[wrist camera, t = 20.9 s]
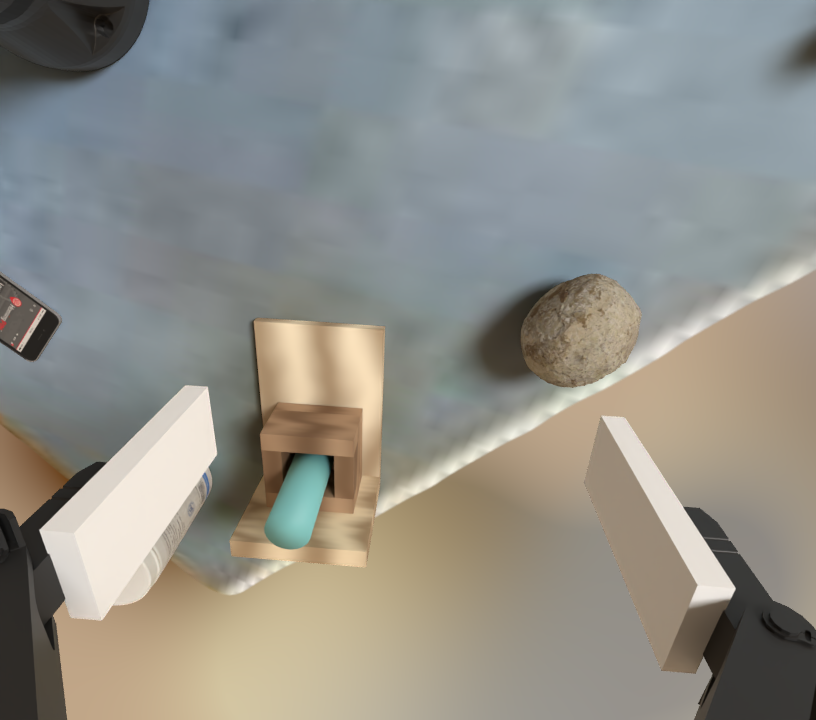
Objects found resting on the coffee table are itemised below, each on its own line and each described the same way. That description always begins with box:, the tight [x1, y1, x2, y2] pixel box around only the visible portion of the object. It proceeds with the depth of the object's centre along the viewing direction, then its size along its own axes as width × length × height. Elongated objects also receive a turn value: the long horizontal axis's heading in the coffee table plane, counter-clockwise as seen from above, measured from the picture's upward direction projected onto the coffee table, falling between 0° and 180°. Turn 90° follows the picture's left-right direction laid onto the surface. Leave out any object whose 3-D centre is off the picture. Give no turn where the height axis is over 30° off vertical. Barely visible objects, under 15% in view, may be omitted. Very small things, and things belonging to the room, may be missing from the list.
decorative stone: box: [520, 274, 642, 388], centre depth 43 cm, size 10×8×10 cm
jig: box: [230, 318, 385, 567], centre depth 48 cm, size 13×20×12 cm, turn 177°
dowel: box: [264, 453, 334, 550], centre depth 47 cm, size 4×4×12 cm
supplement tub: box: [113, 468, 212, 605], centre depth 52 cm, size 10×10×15 cm
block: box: [260, 402, 363, 514], centre depth 51 cm, size 9×9×6 cm
